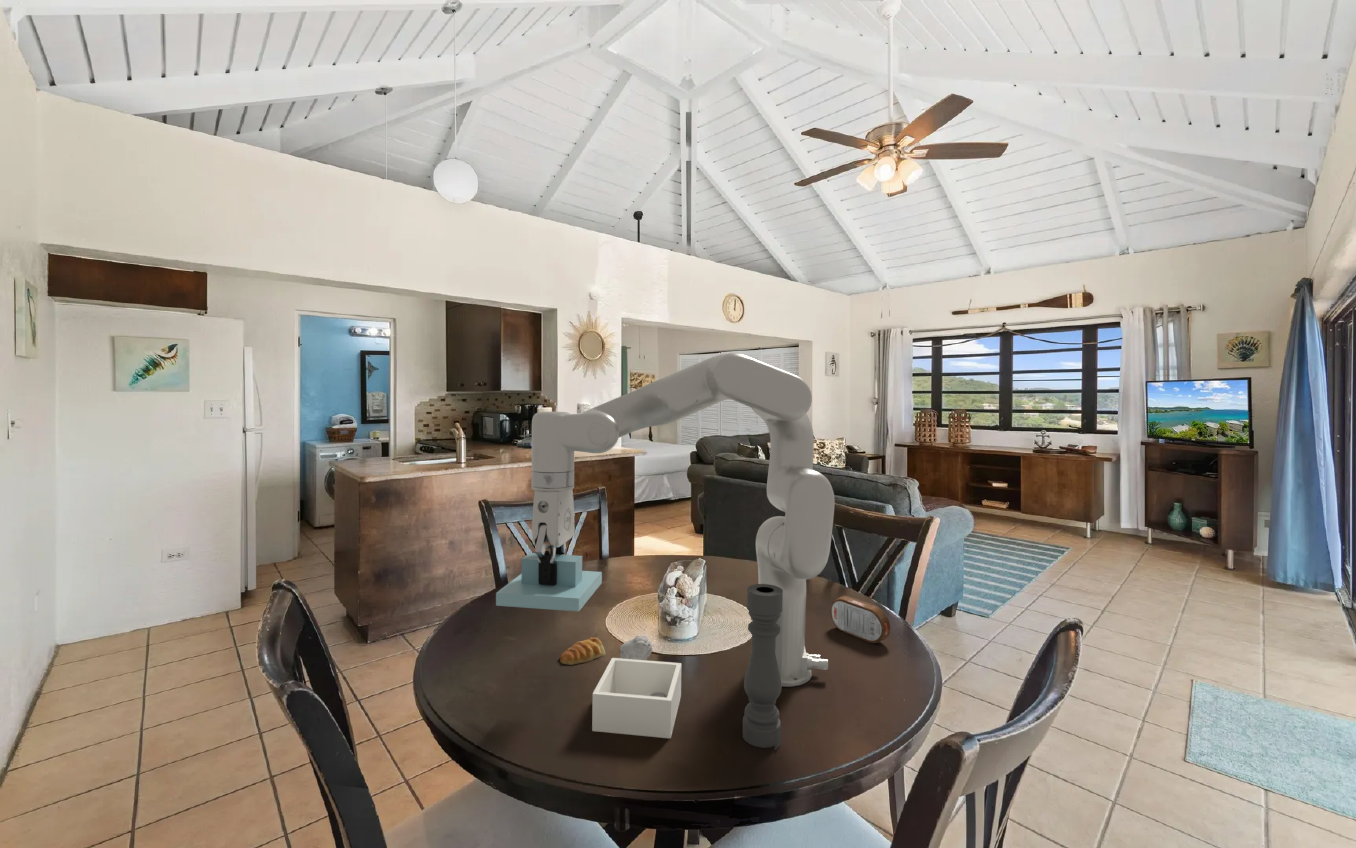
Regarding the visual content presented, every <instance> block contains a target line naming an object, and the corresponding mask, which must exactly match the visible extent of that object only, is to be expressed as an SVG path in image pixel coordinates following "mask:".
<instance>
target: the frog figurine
mask: <svg viewBox="0 0 1356 848" xmlns="http://www.w3.org/2000/svg"><path fill="white" fill-rule="evenodd" d="M653 646H654V644H653V643H652V642H651V641H650V640H649V638H648V636H646V635H642V636H641V635H636V636H635V637H634V638H632V639H630V640H628V641H626V642H624V643H622V645H621V646H620V647H619V650H620V658H621V659H634V660H647V661H648V658H649V657H650V656H651V654H652V653H653V651H654V650H653V649H654V648H653Z"/></svg>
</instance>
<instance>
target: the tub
mask: <svg viewBox="0 0 1356 848" xmlns="http://www.w3.org/2000/svg"><path fill="white" fill-rule="evenodd" d="M656 692H660V693H664V694H665V695H666V696H667V698H665V697H654V696H650V695H651V694H653V693H656ZM681 698H682V663H681V662H671V661H658V660H656V661H655V660H648V659H647V660H634V659H621V657H619V658H618V657H611V659H610V661H609V663H608V665H607V666H606V668H605V670H604V672H603V674H602V676H601V677H600V679H599V681H598V683H597V685H596V687H595V688H594V689H593V692H592V705H591V706H592V711H591V712H592V713H591V714H592V715H591V716H592V720H591V721H592V723H591V724H592V726H591V729H592V732H598V733H599V732H600V733H610V734H620V735H630V736H631V735H632V736H640V737H641V736H642V737H652V738H662V739H669V740H670V739H671V738H672V734H673V730H674V727H675V721H676V717H677V714H678V709H679V706H680V703H681Z"/></svg>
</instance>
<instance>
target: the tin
mask: <svg viewBox="0 0 1356 848" xmlns="http://www.w3.org/2000/svg"><path fill="white" fill-rule="evenodd" d="M829 614H830V619H831V621H832V623H833V625H834V626H835V627H836V628H837V629H838V630H839V631H840V632H842V631H843V632H842V633H845V634H848V635H849V636H853V637H855V638H857V639H860V640H862V641H865V642H867V643H869V642H870V644H877V643H881V642H882V641H885V640H886V639H887V638H888V637H889V636H890V634H891V622H890V619H889V617H888V616H887V614H886V612H885V611H884V610H883V609H882V608H880V607H879V606H877V605H875V604H872V603H869V602H867V601H863V600H860V599H858V598H854V597H852V596H850V595H841V596H839V597H838V598H836V599H834V600H833V601H832V602H831V603H830V608H829Z"/></svg>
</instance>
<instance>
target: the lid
mask: <svg viewBox="0 0 1356 848" xmlns="http://www.w3.org/2000/svg"><path fill="white" fill-rule="evenodd" d="M555 562H556V563H557V584H556V585H554V586H553V585H540V584H539V583H538V574H539V563H538V555H537V554H536V553H535V552H529V553H528V554H526V555H525V556H523V557H522V558H521V573H520V574H519V575H518V576H516V577H515V578H514V579H513V580H511V581H510V582H508V583H507V584H506V585H504V586H503V587H501V589H499V590H498V591H497V592H496V593H495V606H497V607H510V608H511V607H514V608H525V609H540V610H554V611H568V612H580V611H581V610H582V608H583V607H584V606H585V604H587V602H588V600H589V599H590V598H591V597H592V596H593V594H595V592H596V591H597V590H598V589H599V587H600V586H601V585H602V583H603V582H602V581H603V580H602V579H603V573H602V571H594V570H593V571H590V570H583V555H573V554H565V555H564V554H563V555H558V554H555Z"/></svg>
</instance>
